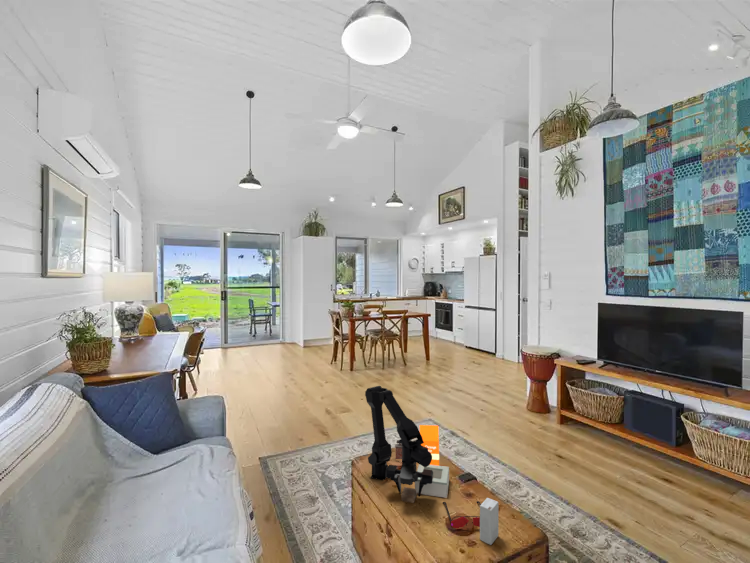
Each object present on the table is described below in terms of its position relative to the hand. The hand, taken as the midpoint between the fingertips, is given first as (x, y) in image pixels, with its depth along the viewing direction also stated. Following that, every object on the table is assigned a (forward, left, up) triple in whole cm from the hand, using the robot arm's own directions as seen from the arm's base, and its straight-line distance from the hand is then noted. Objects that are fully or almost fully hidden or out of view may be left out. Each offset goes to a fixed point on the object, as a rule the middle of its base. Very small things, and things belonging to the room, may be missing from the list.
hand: (409, 494), depth 149 cm
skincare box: (+30, -16, -1) cm, 34 cm away
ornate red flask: (-8, +29, -1) cm, 30 cm away
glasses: (+22, -6, -2) cm, 23 cm away
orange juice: (+5, +25, -2) cm, 26 cm away
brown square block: (0, 0, -2) cm, 2 cm away
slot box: (+8, +10, -1) cm, 13 cm away
